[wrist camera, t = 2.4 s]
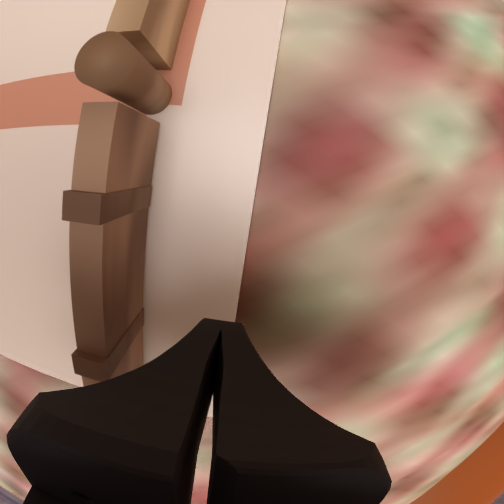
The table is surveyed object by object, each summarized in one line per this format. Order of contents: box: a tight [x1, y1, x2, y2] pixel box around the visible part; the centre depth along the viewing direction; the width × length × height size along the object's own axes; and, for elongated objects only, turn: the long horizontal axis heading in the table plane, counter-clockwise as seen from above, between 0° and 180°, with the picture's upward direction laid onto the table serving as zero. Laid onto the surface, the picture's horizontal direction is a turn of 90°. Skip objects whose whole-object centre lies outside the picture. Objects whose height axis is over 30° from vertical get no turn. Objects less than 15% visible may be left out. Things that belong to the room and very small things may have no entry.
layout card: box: [0, 0, 286, 418], centre depth 9 cm, size 19×26×1 cm
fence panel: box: [62, 102, 160, 386], centre depth 9 cm, size 11×2×4 cm, turn 171°
